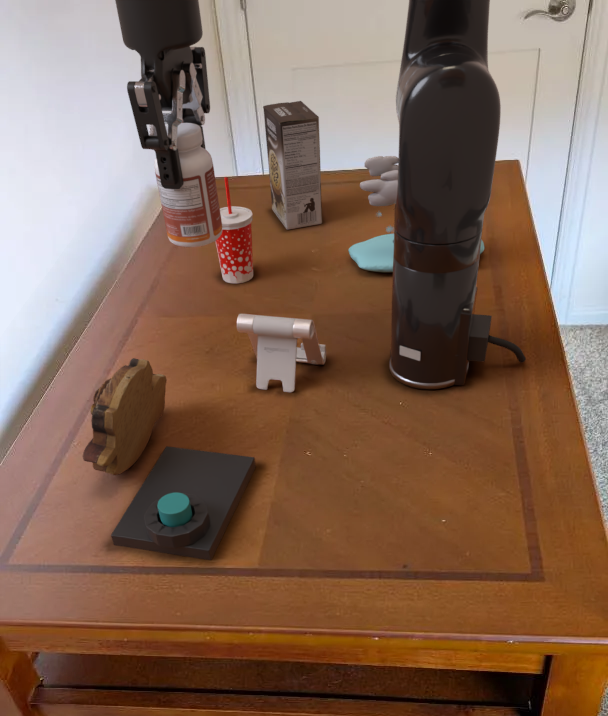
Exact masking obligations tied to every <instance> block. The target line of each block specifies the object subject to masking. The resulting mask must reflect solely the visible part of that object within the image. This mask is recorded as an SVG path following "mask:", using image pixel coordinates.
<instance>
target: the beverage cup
mask: <svg viewBox="0 0 608 716" xmlns="http://www.w3.org/2000/svg"><path fill="white" fill-rule="evenodd" d="M223 179H224V186H225V187H224V188H225V195H226V204H227V206H224V207H220V214H221V221H222V234H221V236H220V237H219V238H218V239H217V240H216V241H214V242H215V247H216V251H217V257H218V261H219V266H220V271H221V276H222V281H224V282H225V283H228V284H244V283H246V282H249V281H250V280H252V279H253V277H254V256H253V234H252V233H253V231H252V229H253V228H252V222H253V217H254V215H253V212H252V210H251V209H250V208H248V207H244V206H235V205H234V206H233V205H232V202H231V193H230V184H229V177H228V176H224V177H223Z"/></svg>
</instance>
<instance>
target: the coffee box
mask: <svg viewBox="0 0 608 716" xmlns="http://www.w3.org/2000/svg"><path fill="white" fill-rule="evenodd" d="M262 108H263V118H264V130H265V131H264V132H265V140H266V151H267V163H268V175H269V176H268V177H269V186H270V199H271V210H272V212H273V213H274V214H275V215H276V217H277V218H278V220H279V221H280V222H281V224H282V225H283V227H284V228H285V229H286V230H295V229H299V228H305V227H310V226H311V227H312V226H317V225H321V224H323V210H322V208H323V207H322V175H321V173H322V171H321V141H320V139H321V138H320V117H319V116H318V114H316V113H315V112H314V111H313V110H312V109H311V108H309V107H308V106H307V105H306V104H305V103H304V102H303V101H302V100H297V101H291V102H287V101H286V102H278V103H277V102H276V103H271V104H266V105H263V107H262Z"/></svg>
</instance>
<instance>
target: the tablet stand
mask: <svg viewBox="0 0 608 716" xmlns="http://www.w3.org/2000/svg"><path fill="white" fill-rule="evenodd" d="M236 330H237V332H238V333H239V334H247V336H248V338H249V341H250V344H251V347H252V350H253V352H254V355H255V357H256V381H255V382H256V383H255V386H256V388H257V389H259V390H265V391H268V389H269V388H268V387H269V383H270V380H274V381H280V382H281V383H282V391H283V392H284V393H293V392H295V390H296V375H297V374H296V373H297V363H304V364H311V365H317V366H318V365H325V364H326V362H327V361H326V360H327V345H326V344H320V341H319V338H318V334H317V329H316V325H315V321H314V320H313V319H309V318H308V319H307V318H295V317H285V316H272V315H263V314H262V315H261V314H249V313H238V316H237V318H236ZM298 339H301V343H300V346H299V347H298Z"/></svg>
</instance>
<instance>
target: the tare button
mask: <svg viewBox="0 0 608 716" xmlns="http://www.w3.org/2000/svg"><path fill="white" fill-rule="evenodd" d="M157 507H158V511H159V515H160V519H161V522H162V523H163V524H164V525H166V526H168V527H178V526H183V525H185V524H186V523H188V522H189V521H190V520H191V518H192V510H191V505H190V500H189V498H188V497H187V496H186V495H185V494H182V493H170V494H167V495H165V496H163V497H162V498H161V499H160V500H159V501H158V504H157Z"/></svg>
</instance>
